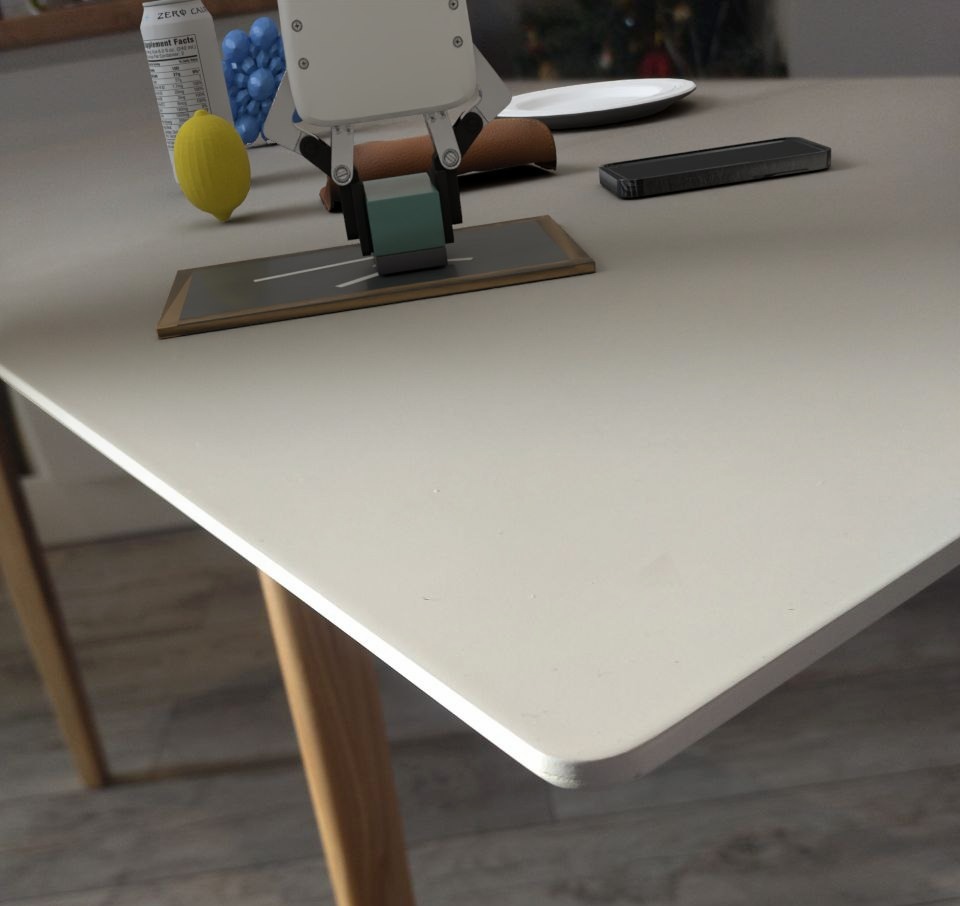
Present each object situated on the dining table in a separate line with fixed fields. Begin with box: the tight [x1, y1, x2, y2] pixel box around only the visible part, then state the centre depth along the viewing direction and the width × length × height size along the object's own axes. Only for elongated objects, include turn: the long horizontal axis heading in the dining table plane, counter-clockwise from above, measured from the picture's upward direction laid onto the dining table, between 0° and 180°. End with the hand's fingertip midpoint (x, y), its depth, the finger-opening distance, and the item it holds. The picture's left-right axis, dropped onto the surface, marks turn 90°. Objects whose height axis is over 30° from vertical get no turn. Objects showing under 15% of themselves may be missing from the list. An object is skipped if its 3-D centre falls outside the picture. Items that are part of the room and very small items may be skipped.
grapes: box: [221, 16, 304, 144], centre depth 127 cm, size 12×7×12 cm, turn 95°
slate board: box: [155, 214, 597, 340], centre depth 72 cm, size 24×14×1 cm, turn 98°
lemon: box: [174, 109, 252, 222], centre depth 92 cm, size 6×6×8 cm
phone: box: [598, 136, 832, 198], centre depth 86 cm, size 8×1×15 cm
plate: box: [493, 77, 697, 130], centre depth 119 cm, size 21×21×2 cm
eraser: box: [363, 172, 448, 275], centre depth 71 cm, size 7×4×4 cm, turn 8°
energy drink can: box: [139, 0, 235, 186], centre depth 105 cm, size 6×6×15 cm
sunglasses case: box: [318, 118, 558, 212], centre depth 95 cm, size 18×7×7 cm
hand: (406, 241), depth 72 cm, fingers closed on eraser, 4 cm apart
